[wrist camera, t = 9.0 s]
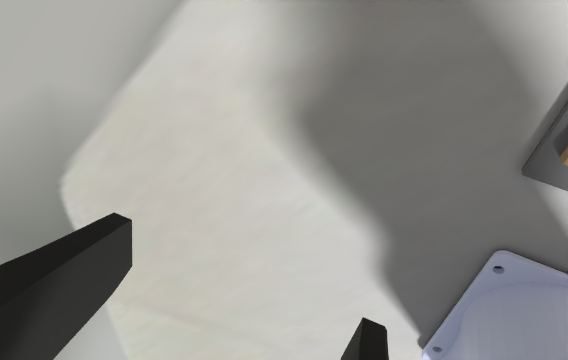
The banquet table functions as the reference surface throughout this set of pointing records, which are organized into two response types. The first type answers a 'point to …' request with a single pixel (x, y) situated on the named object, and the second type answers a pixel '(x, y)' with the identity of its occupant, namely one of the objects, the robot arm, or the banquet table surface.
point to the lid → (564, 157)
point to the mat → (551, 155)
